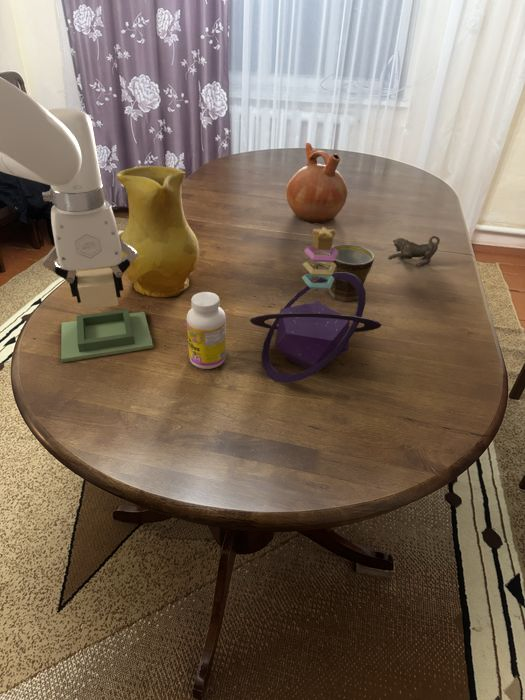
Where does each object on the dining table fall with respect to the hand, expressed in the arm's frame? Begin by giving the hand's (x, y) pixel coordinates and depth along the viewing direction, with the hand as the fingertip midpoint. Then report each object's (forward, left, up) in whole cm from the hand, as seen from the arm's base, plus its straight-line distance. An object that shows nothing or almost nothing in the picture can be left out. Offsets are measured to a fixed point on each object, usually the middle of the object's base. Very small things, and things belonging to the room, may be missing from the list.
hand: (99, 295), depth 84 cm
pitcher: (+14, +19, -9) cm, 25 cm away
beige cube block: (0, 0, -1) cm, 1 cm away
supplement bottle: (+17, -12, -9) cm, 23 cm away
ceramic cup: (+51, +3, -9) cm, 52 cm away
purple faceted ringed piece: (+35, -17, -9) cm, 40 cm away
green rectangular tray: (0, 0, -9) cm, 9 cm away
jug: (+65, +49, -9) cm, 82 cm away
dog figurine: (+77, +14, -9) cm, 79 cm away
